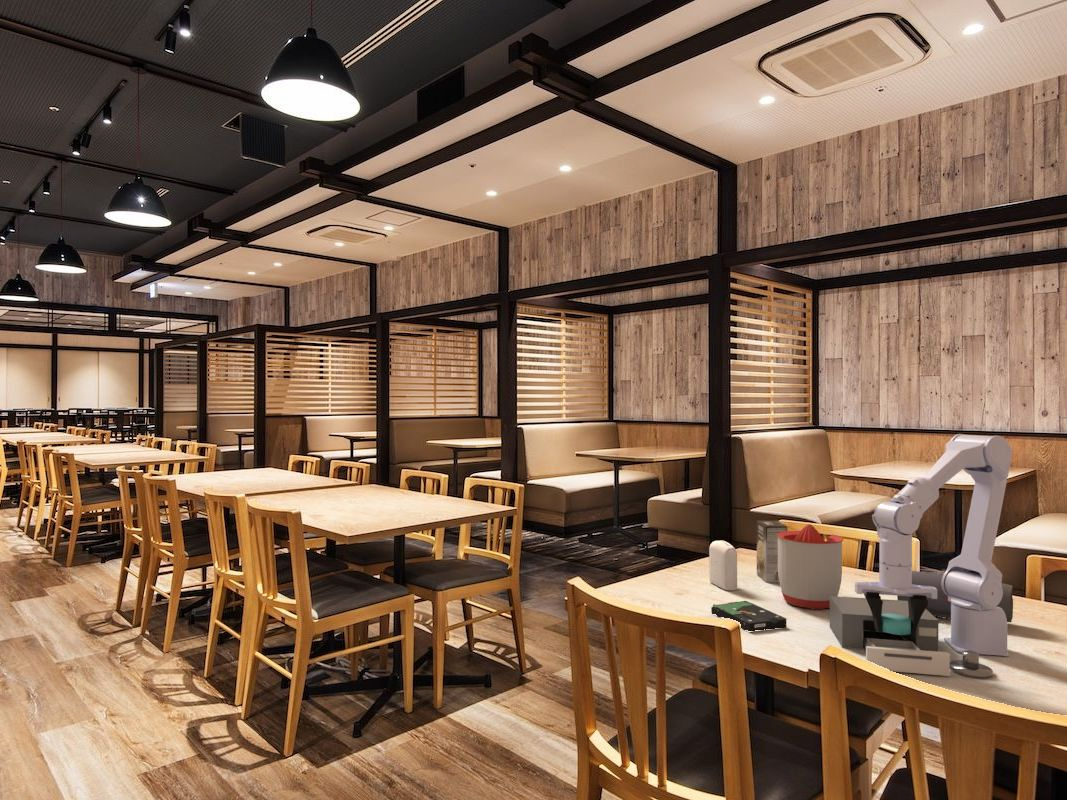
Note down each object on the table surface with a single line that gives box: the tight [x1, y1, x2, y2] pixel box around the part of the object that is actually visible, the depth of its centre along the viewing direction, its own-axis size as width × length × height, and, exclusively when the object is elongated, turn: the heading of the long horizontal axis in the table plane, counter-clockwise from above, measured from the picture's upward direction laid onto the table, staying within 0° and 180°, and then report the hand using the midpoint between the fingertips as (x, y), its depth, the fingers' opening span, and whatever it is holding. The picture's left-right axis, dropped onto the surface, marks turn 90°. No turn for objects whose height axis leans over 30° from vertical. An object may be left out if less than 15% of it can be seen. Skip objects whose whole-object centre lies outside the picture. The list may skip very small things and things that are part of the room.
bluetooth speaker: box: [896, 570, 1014, 623], centre depth 164 cm, size 23×9×10 cm, turn 53°
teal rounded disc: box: [881, 614, 911, 636], centre depth 137 cm, size 6×6×2 cm
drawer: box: [863, 637, 950, 677], centre depth 137 cm, size 14×16×4 cm
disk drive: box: [710, 600, 787, 631], centre depth 161 cm, size 10×3×15 cm
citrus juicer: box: [777, 523, 844, 611], centre depth 176 cm, size 16×17×20 cm
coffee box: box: [756, 520, 789, 583], centre depth 200 cm, size 9×6×16 cm
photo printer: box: [708, 540, 738, 591], centre depth 191 cm, size 10×4×12 cm, turn 13°
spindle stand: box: [949, 650, 994, 680], centre depth 131 cm, size 7×7×4 cm
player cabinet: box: [829, 596, 940, 652], centre depth 148 cm, size 18×14×7 cm
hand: (895, 632), depth 138 cm, fingers closed on teal rounded disc, 5 cm apart
